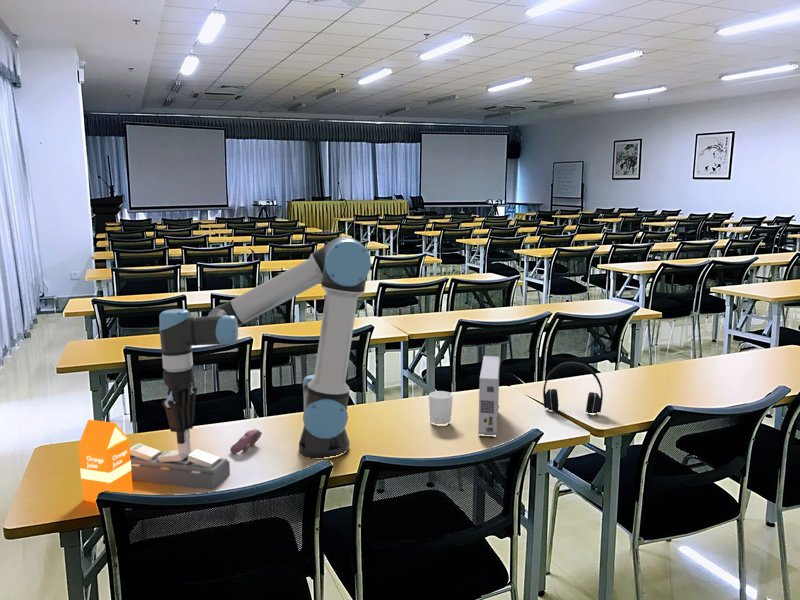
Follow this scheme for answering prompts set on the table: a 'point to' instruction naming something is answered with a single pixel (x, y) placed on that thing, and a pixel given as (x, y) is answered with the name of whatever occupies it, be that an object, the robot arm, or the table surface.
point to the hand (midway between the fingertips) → (184, 453)
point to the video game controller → (246, 441)
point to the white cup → (440, 407)
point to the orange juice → (104, 460)
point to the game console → (489, 395)
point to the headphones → (593, 398)
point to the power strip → (179, 472)
